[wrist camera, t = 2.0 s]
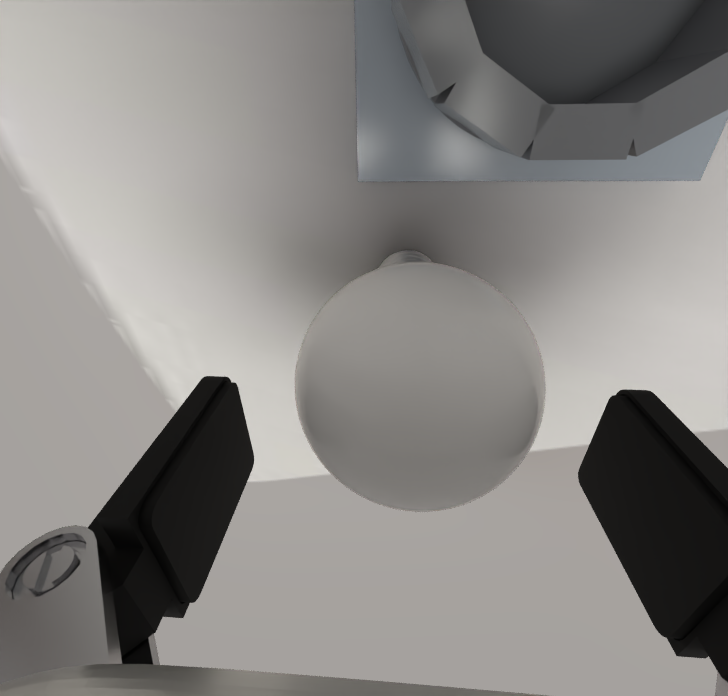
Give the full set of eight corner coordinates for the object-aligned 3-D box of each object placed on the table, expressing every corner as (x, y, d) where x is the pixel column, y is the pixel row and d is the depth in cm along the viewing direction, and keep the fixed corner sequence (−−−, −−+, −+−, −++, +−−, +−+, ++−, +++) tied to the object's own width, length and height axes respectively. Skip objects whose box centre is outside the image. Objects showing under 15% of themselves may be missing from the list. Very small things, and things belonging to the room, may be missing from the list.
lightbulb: (342, 335, 18) (289, 560, 9) (329, 203, 15) (225, 348, 6) (470, 334, 18) (552, 572, 9) (487, 196, 14) (654, 345, 5)
